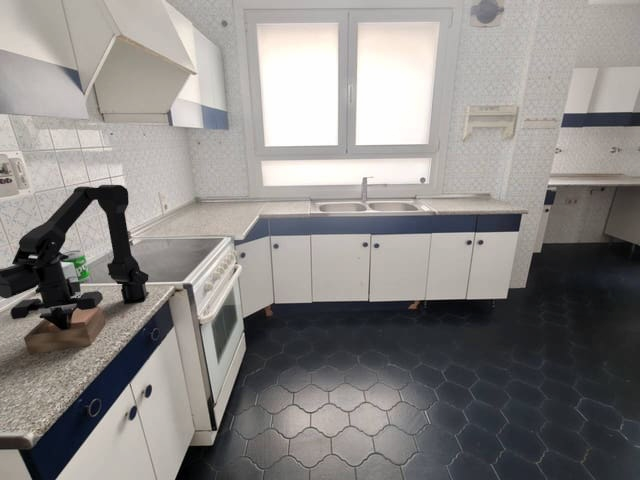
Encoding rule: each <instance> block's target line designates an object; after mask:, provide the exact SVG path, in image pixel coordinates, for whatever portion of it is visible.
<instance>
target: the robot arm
mask: <svg viewBox="0 0 640 480" xmlns="http://www.w3.org/2000/svg"><path fill="white" fill-rule="evenodd" d="M94 201H97V204H98V206H99V207H100V208H101V209H102V211H103V212H104V214H105V215H106V221H107V225H108V226H107V227H108V231H109V236H110V237H109V238H110V243H111V249H112V253H113V254H112V256H113V257H112V258H113V259H112V260H111V262H110V263H109V262H108V263H107V264H106V265H107V266H106V267H107V270H108V273H107V274H108V276H110V279H111V280H113V281H115V283H116V284H117V285H121V289H120V292H121V296H122V300H124V301H123V304H124V305H126V304H135V303H140V302H145V301H146V299H147V297H148V295H149V293H150V292H149V291H148V290H147V287H146V283H147V282H148V281H149V277H150V276H149V274H148V273H146V272H144V271H142V270H141V268H140V266H139V265H140V264H139V262H138V261H137V260H136V258H135V257H134V256H133V255H132V251H131V244H130V238H129V232H128V226H127V219H126V211H127V208H128V206H129V204H130V203H129V190H128V189H127V188H126V187H125V186H123V185H122V184H101V185H99V186H98V187H93V186H84V185H83V186H82V185H81V186H77V187H75V188H74V189H73V191H72V193H71V194H70V195H69V196H68V198H67V199H66V200H65V201H64V202H63V203H62V204H61V205H60V206H59V207H58V208H57V210H56V211H55V212H54V213H53V214H52V215H51V216H50V217H49V218H48V219H47V220H46V221H45V222H44V223H42V224H40V225H39V226H35V227H34V228H32V229H31V230H29V231H28V232H27V233H26V234H24V235H23V236H22V237H21V238H20V239H19V241H18V246H19V247H18V249H17V251H16V253H15V255H14V258H13V260H12V263H11V264H12V265H11V266H7V267H5V268H3V267H2V268H0V298H2V299H11V298H12V297H15V296H18V295H21V294H22V293H25V292H27V291H30V290H33V289H34V288H36V287H37V288H36V289H35V290H34V291H35V293H36V294H39V295H40V297H41V299H40V298H29V299H23V300H20V302H18V303H17V304H16V305H14V306H13V307H12V308H11V309H10V312H9V314H10V317H11V319H12V320H19V319H21V320H22V319H26V318H27V317H28V316H29V315H30V312H36V311H39V313H40V314H39V316H38V317H39V319H46V320H47V321H49V322H51V323H52V324H54V325H56V326H57V327H58V328H59V329H61V330H68V329H70V327H71V320H72V315H73V312H74V311H75V310H76V309H77V308H78V309H80V310H87V309H93V308H96V307H97V306H99V305H100V303H101V302H102V301H103V300H104V296H103V294H102V292H100V291H99V290H96V291H95V290H94V291H87V292H83V293H82V295H80V296H78V297H76V298H71V297H72V296H74V295H76V293H75V292H82V290H81V291H80V288H81V283H80V281H77V282H70V280H69V278H65V275H64V271H63V268H62V265H61V261H62V260H65V259H67V258H69V256H67V255H64V254H63V253H62V252H61V249H62V248H63V246H64V244H65V242H66V237H67V235H66V234H67V233H68V231H69V230H70V228H71V227H72V226H73V225H74V224H75V223H76V222H77V220H78V219H79V218H80V217H81V215H82V214H83V213H84V212H85V211H86V210H87V209H88V208H89V206H91V204H92V203H93V202H94Z"/></svg>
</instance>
